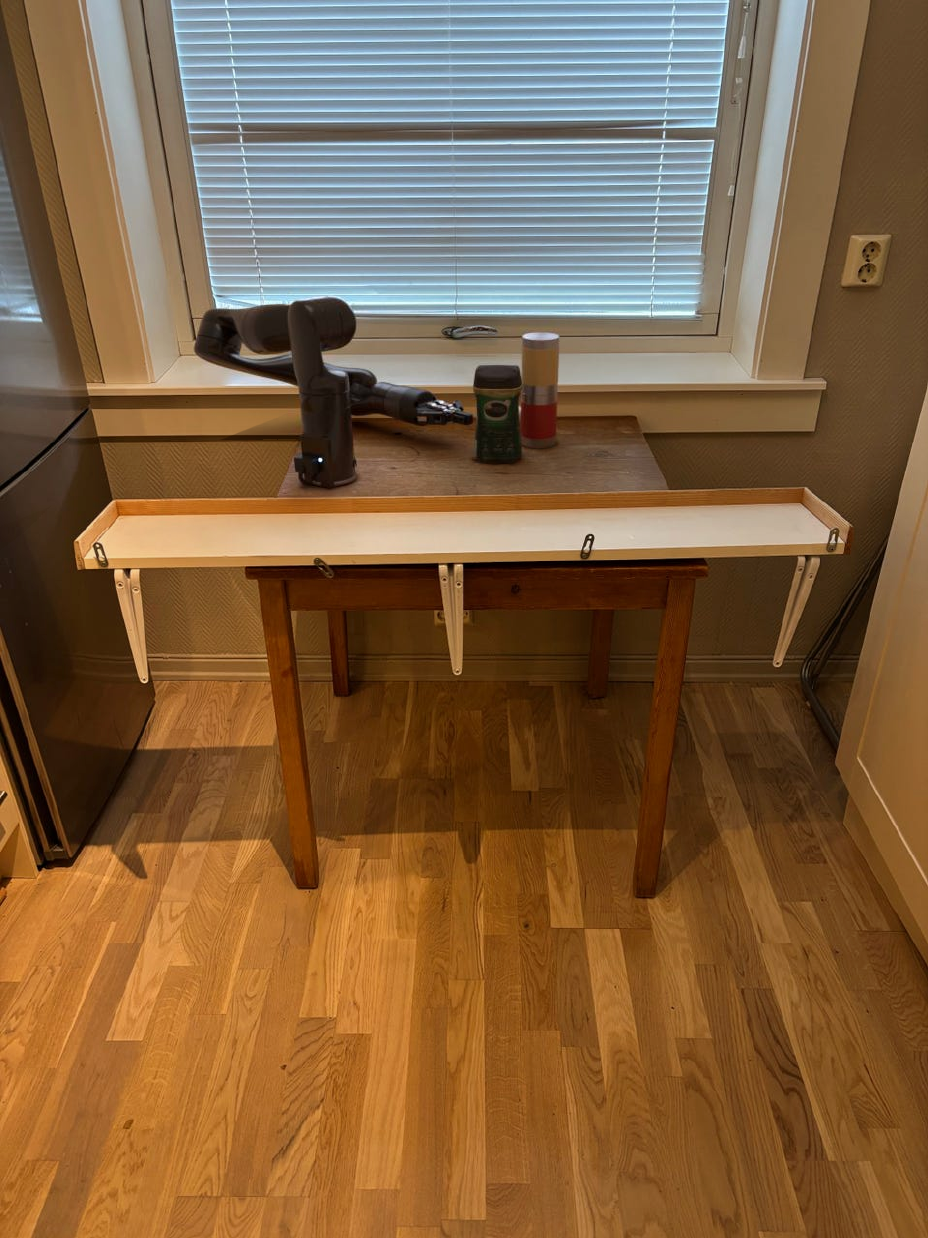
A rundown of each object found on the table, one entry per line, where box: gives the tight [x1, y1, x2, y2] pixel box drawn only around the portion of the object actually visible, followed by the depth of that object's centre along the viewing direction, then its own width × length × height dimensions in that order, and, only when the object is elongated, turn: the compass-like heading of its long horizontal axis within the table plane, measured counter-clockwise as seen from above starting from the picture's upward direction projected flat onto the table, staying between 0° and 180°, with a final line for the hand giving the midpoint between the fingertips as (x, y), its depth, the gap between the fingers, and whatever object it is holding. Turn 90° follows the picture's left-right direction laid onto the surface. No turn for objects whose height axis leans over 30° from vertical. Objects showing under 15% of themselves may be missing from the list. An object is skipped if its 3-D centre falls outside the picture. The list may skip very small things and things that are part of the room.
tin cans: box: [519, 331, 560, 449], centre depth 187 cm, size 8×8×22 cm
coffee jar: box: [472, 364, 523, 464], centre depth 180 cm, size 10×8×19 cm
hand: (470, 419), depth 185 cm, fingers closed
